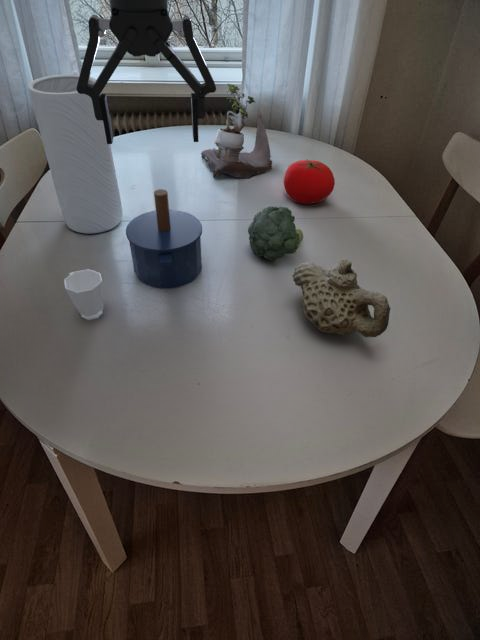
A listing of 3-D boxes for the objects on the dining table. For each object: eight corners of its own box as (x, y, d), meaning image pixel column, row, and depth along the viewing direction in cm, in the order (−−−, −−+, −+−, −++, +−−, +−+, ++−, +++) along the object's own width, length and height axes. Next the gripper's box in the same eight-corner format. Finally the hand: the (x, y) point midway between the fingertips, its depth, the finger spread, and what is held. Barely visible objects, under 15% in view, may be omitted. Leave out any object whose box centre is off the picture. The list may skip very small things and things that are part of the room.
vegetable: (324, 251, 98) (283, 245, 88) (282, 271, 107) (241, 268, 96) (311, 202, 100) (270, 191, 90) (271, 225, 109) (229, 218, 98)
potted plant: (196, 163, 141) (210, 78, 129) (248, 172, 149) (265, 92, 137) (214, 179, 125) (231, 84, 114) (271, 187, 133) (293, 99, 121)
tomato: (271, 195, 122) (274, 159, 115) (302, 183, 128) (307, 148, 121) (309, 215, 114) (315, 178, 107) (339, 201, 121) (347, 165, 113)
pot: (133, 299, 87) (126, 261, 81) (136, 244, 102) (130, 208, 95) (204, 294, 89) (203, 256, 83) (198, 241, 104) (196, 205, 97)
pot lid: (124, 257, 83) (116, 214, 77) (128, 216, 94) (121, 175, 88) (205, 252, 85) (204, 210, 78) (199, 212, 96) (198, 173, 90)
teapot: (272, 309, 87) (279, 246, 76) (311, 286, 92) (323, 225, 82) (356, 373, 75) (377, 309, 65) (395, 343, 81) (420, 280, 70)
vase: (135, 214, 112) (114, 80, 90) (100, 241, 102) (67, 98, 81) (90, 202, 116) (60, 70, 94) (52, 226, 106) (9, 86, 85)
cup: (84, 330, 81) (74, 297, 75) (59, 303, 86) (48, 271, 80) (117, 313, 84) (109, 281, 79) (91, 289, 89) (83, 257, 84)
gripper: (228, -30, 59) (227, 129, 74) (39, -35, 56) (76, 132, 71) (236, -24, 54) (232, 147, 68) (26, -29, 51) (70, 151, 65)
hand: (153, 140), depth 69 cm, fingers open, 13 cm apart
